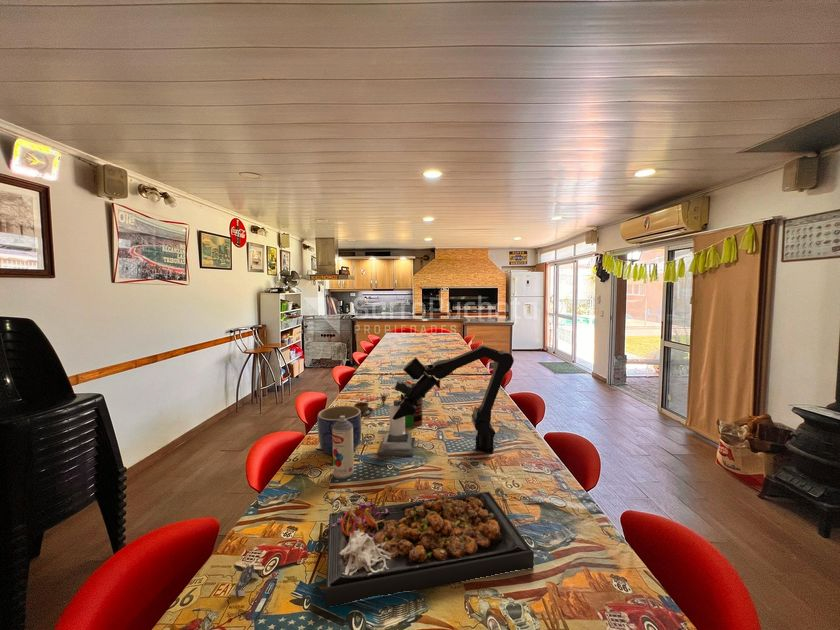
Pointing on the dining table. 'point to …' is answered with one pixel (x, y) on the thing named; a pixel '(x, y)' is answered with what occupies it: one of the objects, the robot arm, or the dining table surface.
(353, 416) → the planter
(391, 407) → the white bottle
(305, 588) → the dining table surface
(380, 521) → the food platter
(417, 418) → the motor
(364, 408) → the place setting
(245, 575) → the toy shark
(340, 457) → the aerosol can
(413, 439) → the grey square tray
